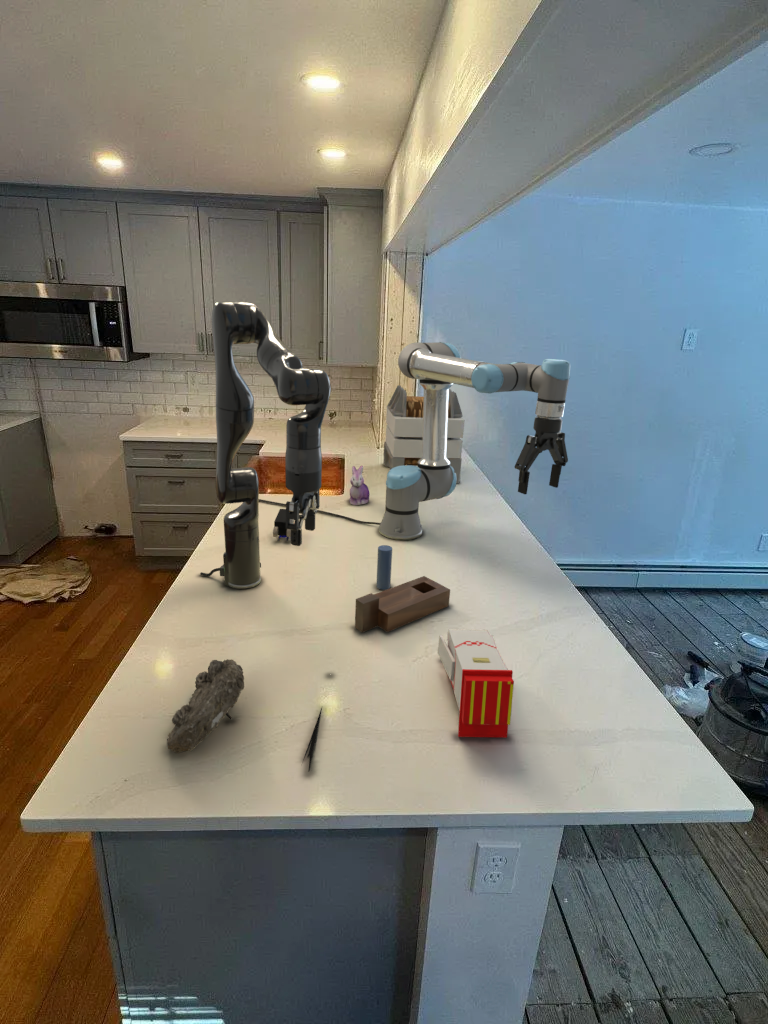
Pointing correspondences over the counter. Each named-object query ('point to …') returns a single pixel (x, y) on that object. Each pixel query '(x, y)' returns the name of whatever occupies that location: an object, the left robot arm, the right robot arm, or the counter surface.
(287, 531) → the figurine character
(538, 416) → the right robot arm
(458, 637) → the toy
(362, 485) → the figurine
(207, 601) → the counter surface
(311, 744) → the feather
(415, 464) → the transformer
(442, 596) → the peg block
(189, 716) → the fossil
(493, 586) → the counter surface
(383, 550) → the peg
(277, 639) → the counter surface
